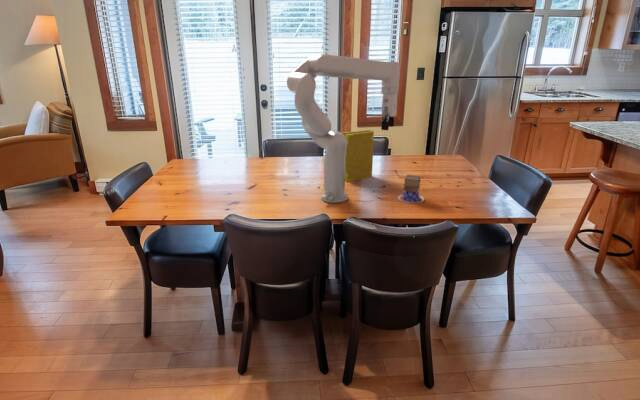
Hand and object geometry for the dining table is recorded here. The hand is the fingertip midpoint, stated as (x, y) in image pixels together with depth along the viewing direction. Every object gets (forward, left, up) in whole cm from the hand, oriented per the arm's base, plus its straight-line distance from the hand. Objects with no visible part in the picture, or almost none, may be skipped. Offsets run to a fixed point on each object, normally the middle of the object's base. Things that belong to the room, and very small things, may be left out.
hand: (387, 128), depth 175 cm
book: (+11, +18, -31) cm, 37 cm away
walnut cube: (-9, -15, -26) cm, 31 cm away
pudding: (-9, -15, -31) cm, 36 cm away
